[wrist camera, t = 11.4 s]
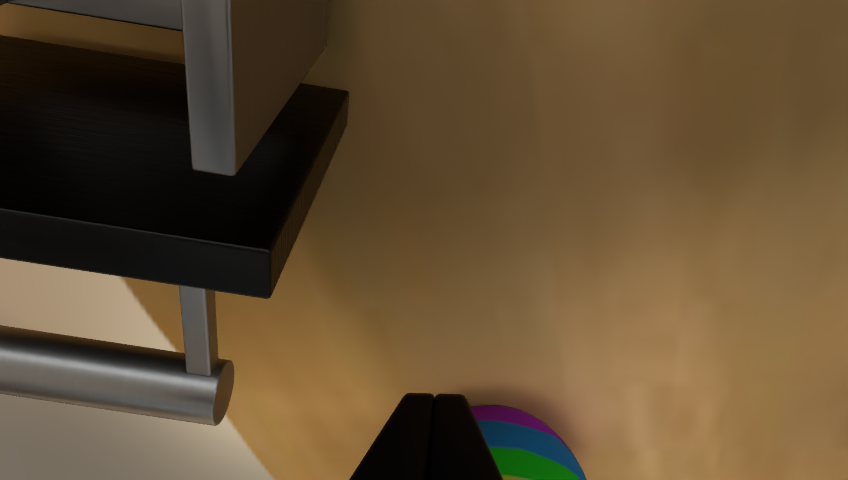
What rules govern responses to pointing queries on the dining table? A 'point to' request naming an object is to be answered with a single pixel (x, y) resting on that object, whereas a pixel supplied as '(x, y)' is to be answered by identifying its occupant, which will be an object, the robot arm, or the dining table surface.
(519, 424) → the decorative egg
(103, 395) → the drawer with bar handle
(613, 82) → the dining table surface
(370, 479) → the robot arm
